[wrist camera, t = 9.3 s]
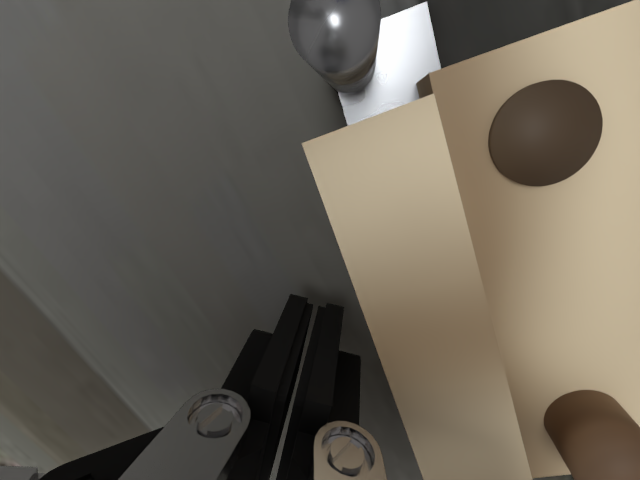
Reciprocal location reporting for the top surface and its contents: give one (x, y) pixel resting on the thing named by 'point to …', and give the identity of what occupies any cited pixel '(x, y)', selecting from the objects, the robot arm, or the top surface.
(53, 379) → the top surface
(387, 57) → the silver metal knob
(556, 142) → the stool top
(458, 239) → the stool leg
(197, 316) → the top surface
